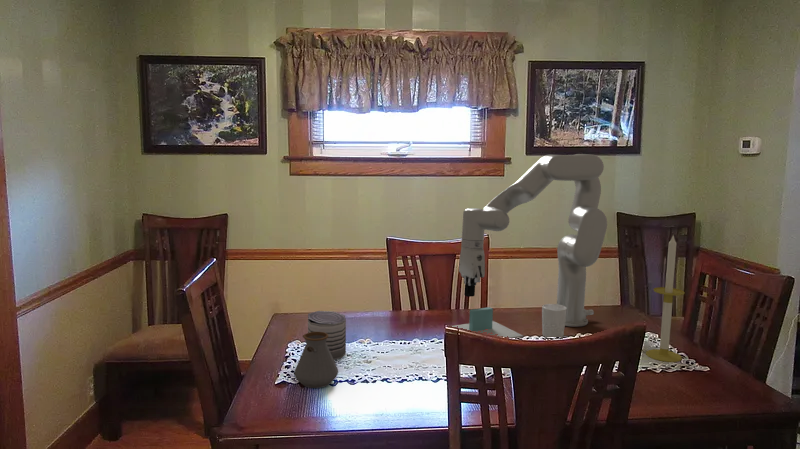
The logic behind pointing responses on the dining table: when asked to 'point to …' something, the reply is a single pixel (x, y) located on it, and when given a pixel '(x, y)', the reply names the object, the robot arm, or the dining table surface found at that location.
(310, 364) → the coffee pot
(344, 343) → the can
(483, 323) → the slab
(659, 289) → the candle
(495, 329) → the mat
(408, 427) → the dining table surface
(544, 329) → the white cup
